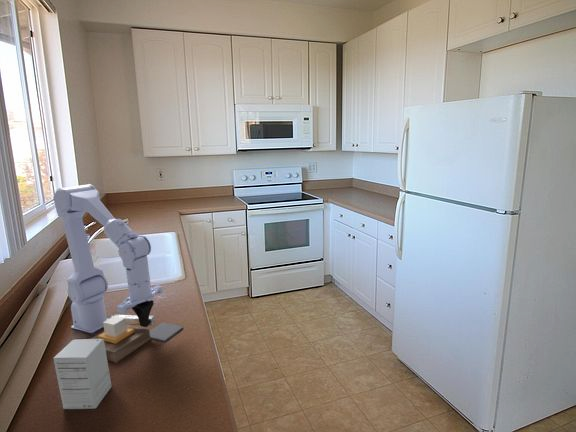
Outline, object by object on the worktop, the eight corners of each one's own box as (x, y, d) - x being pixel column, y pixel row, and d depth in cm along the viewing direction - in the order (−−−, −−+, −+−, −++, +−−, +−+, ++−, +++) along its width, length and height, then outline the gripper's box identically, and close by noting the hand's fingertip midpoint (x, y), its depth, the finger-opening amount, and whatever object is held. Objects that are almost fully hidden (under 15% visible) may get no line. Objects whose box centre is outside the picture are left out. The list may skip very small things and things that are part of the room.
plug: (100, 350, 101) (96, 323, 99) (119, 338, 107) (115, 313, 105) (117, 354, 99) (113, 327, 97) (135, 342, 104) (132, 316, 103)
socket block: (84, 353, 100) (82, 343, 99) (120, 331, 110) (118, 322, 110) (116, 362, 95) (114, 352, 94) (150, 339, 106) (149, 329, 105)
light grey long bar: (108, 328, 106) (107, 317, 105) (112, 325, 108) (111, 314, 107) (152, 329, 104) (150, 319, 104) (155, 326, 106) (154, 315, 106)
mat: (143, 336, 107) (143, 335, 107) (162, 323, 114) (162, 322, 114) (164, 342, 104) (164, 340, 104) (183, 328, 111) (182, 326, 111)
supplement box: (81, 387, 86) (73, 338, 83) (112, 386, 86) (105, 337, 83) (61, 410, 79) (51, 357, 76) (95, 409, 78) (86, 357, 76)
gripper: (128, 293, 92) (135, 341, 95) (168, 273, 105) (173, 316, 108) (108, 289, 95) (115, 336, 98) (150, 270, 108) (155, 312, 111)
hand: (144, 325), depth 103 cm, fingers closed, pressing on light grey long bar
